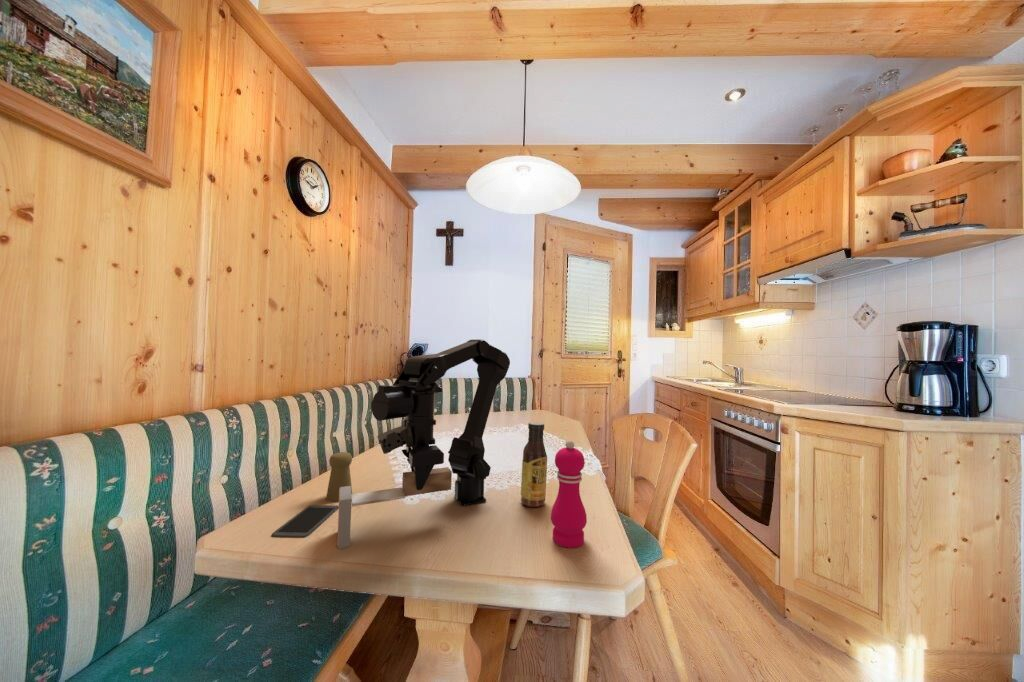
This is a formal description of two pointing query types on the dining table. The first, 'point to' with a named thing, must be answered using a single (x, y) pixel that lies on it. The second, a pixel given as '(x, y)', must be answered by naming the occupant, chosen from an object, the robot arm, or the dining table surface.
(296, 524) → the cell phone
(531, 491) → the sauce bottle
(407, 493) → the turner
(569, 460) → the pepper mill
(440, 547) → the dining table surface
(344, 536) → the tile
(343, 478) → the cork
